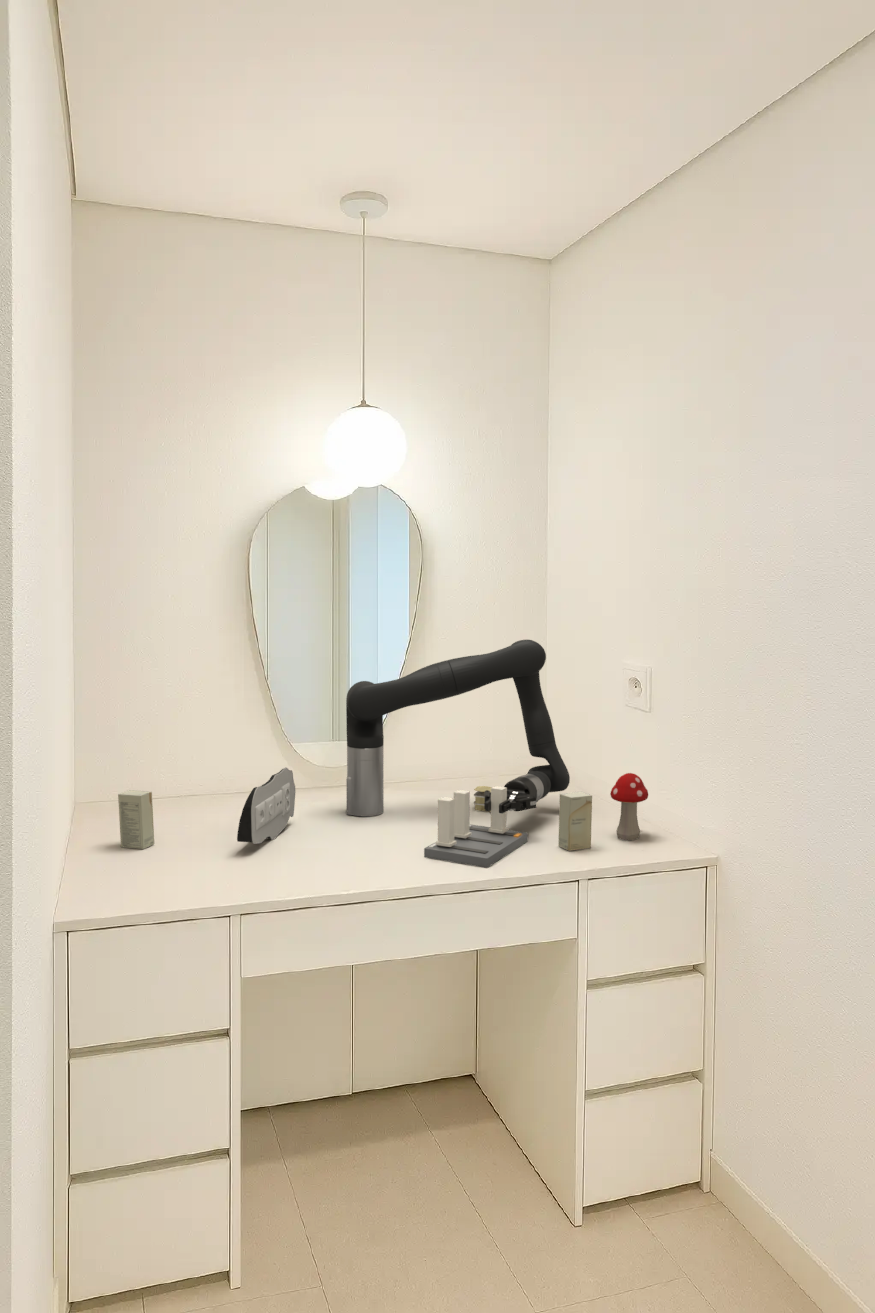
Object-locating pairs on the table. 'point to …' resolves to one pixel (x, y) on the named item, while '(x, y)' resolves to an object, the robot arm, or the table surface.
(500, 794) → the post
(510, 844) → the board
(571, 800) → the skincare box
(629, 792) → the decorative mushroom
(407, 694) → the robot arm
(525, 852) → the table surface
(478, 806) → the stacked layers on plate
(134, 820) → the skincare box
